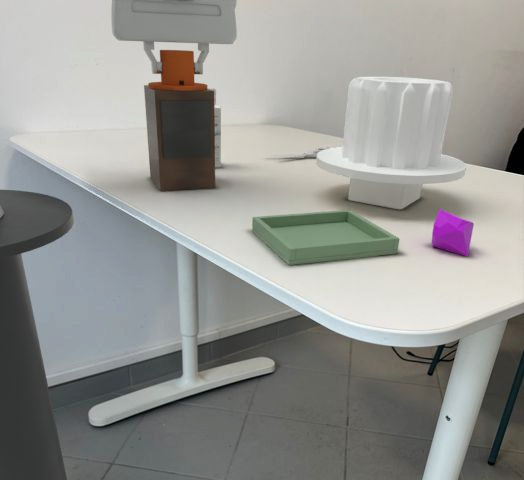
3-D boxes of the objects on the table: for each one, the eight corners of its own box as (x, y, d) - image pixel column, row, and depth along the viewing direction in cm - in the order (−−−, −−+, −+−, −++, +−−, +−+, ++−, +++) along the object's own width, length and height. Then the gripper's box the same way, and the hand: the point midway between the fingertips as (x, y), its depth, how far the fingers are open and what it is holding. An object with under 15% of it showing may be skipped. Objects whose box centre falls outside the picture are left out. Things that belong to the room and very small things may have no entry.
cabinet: (161, 191, 94) (154, 90, 86) (150, 178, 103) (143, 85, 94) (215, 188, 97) (214, 91, 89) (201, 175, 106) (199, 85, 98)
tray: (288, 265, 66) (289, 249, 65) (252, 231, 77) (252, 216, 76) (397, 253, 71) (399, 238, 70) (348, 223, 82) (349, 209, 81)
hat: (154, 90, 86) (152, 50, 84) (143, 85, 94) (141, 48, 92) (214, 90, 90) (214, 52, 87) (199, 85, 98) (198, 50, 95)
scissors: (355, 154, 126) (284, 160, 116) (355, 158, 126) (284, 164, 117) (328, 147, 133) (259, 151, 124) (328, 150, 134) (259, 155, 125)
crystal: (427, 251, 72) (434, 217, 70) (432, 239, 77) (439, 207, 74) (467, 257, 71) (475, 223, 68) (470, 245, 75) (478, 212, 73)
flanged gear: (431, 230, 80) (459, 90, 71) (287, 201, 92) (294, 77, 82) (473, 196, 99) (500, 82, 89) (349, 176, 110) (360, 72, 100)
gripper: (230, -20, 90) (230, 73, 97) (105, -29, 83) (114, 71, 90) (242, -22, 85) (241, 76, 92) (109, -32, 78) (119, 74, 85)
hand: (177, 74), depth 91 cm, fingers closed on hat, 5 cm apart
